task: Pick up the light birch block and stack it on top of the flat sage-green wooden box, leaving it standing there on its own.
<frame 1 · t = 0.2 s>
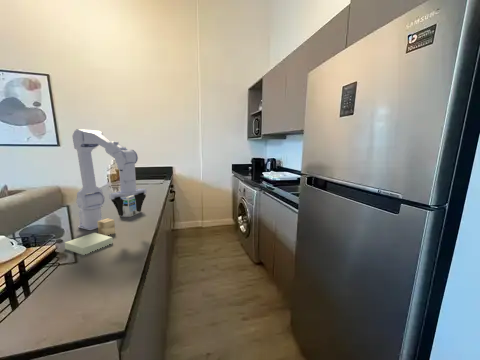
hand: (130, 213, 98), 10 cm above the counter, tool pointing down, fingers open, 7 cm apart
sage box: (89, 247, 90), on the counter
birch block: (107, 234, 103), on the counter
light bulb box: (130, 214, 132), on the counter
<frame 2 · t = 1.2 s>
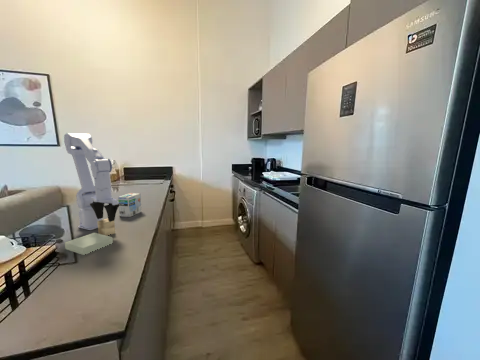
hand: (105, 219, 102), 6 cm above the counter, tool pointing down, fingers open, 7 cm apart
nothing on the counter moved.
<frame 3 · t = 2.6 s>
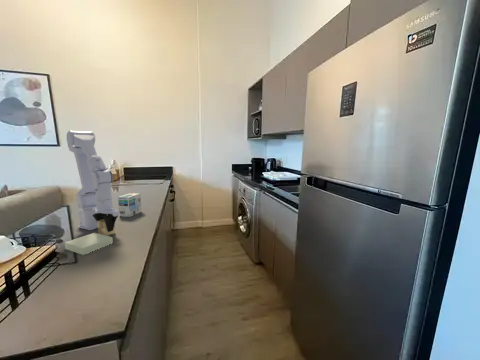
hand: (106, 230, 102), 2 cm above the counter, tool pointing down, fingers closed on birch block, 4 cm apart
birch block: (107, 233, 103), on the counter, touching gripper
everything else where it was.
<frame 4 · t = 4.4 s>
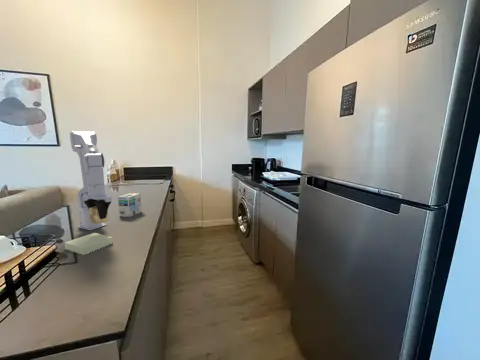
hand: (99, 217, 96), 9 cm above the counter, tool pointing down, fingers closed on birch block, 4 cm apart
birch block: (99, 221, 97), point 7 cm above the counter, touching gripper
everything else where it was.
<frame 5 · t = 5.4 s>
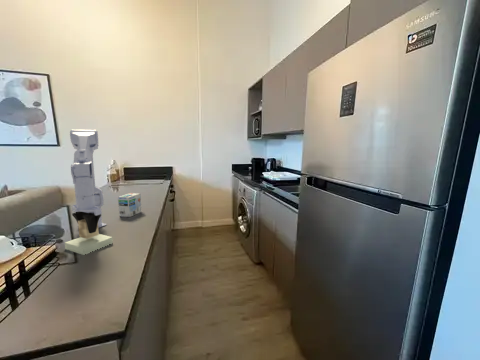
hand: (88, 231, 89), 6 cm above the counter, tool pointing down, fingers closed on birch block, 4 cm apart
birch block: (89, 235, 90), point 4 cm above the counter, touching gripper
everything else where it was.
when the fingers open (6 cm above the counter, at t = 6.2 s): birch block drops 2 cm, resting on sage box.
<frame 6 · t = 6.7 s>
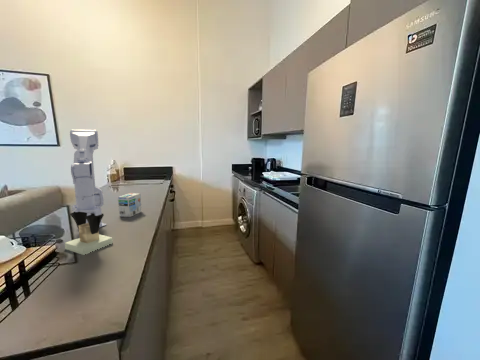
hand: (88, 231, 89), 6 cm above the counter, tool pointing down, fingers open, 7 cm apart
sage box: (90, 247, 90), on the counter, touching birch block
birch block: (89, 240, 90), point 2 cm above the counter, touching sage box
everything else where it was.
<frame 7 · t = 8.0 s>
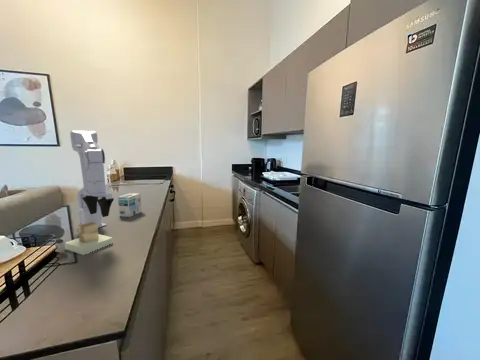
hand: (99, 214, 95), 10 cm above the counter, tool pointing down, fingers open, 7 cm apart
sage box: (89, 247, 90), on the counter
birch block: (89, 239, 90), point 2 cm above the counter
everything else where it was.
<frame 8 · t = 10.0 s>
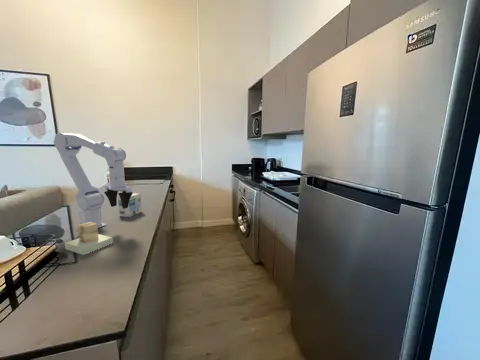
hand: (119, 207, 106), 10 cm above the counter, tool pointing down, fingers open, 7 cm apart
nothing on the counter moved.
at the end: birch block 0.2 cm off-centre on the sage box, point 3.0 cm above the sage box's base; birch block tilted 1°; birch block touching sage box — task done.
